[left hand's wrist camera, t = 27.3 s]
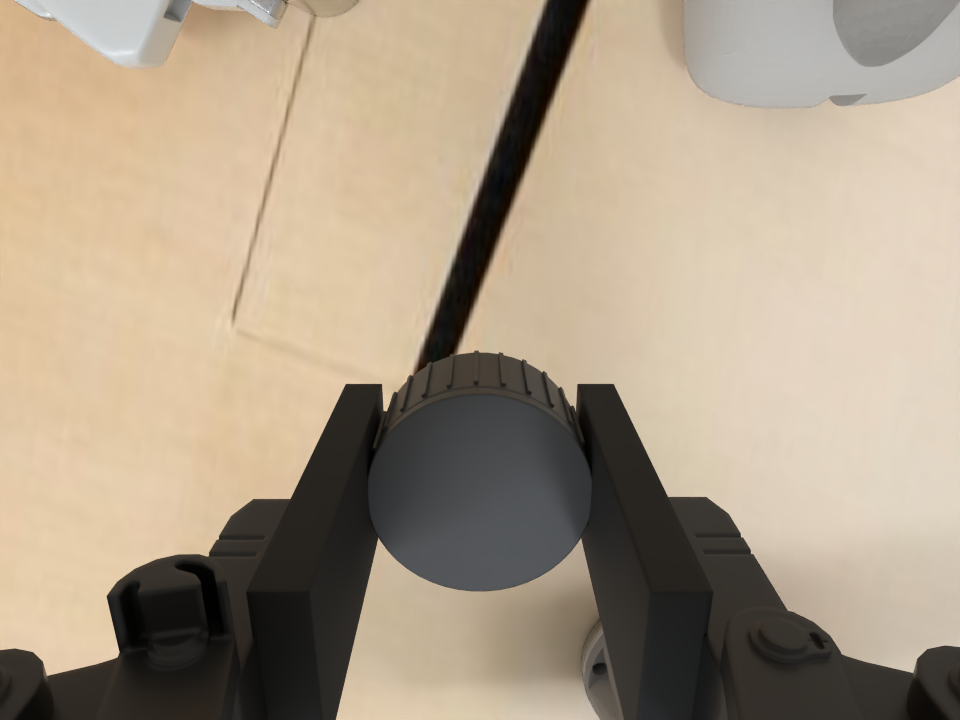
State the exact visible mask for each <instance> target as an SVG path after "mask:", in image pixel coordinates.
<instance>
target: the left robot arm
mask: <svg viewBox="0 0 960 720" xmlns="http://www.w3.org/2000/svg"><path fill="white" fill-rule="evenodd" d="M382 415H383V394H382V384H346V385H345V387H344V389H343V391H342V393H341V395H340V398H339V400H338V402H337V404H336V406H335V408H334V410H333V412H332V414H331V416H330V418H329V420H328V422H327V425H326V427H325V429H324V431H323V433H322V435H321V437H320V439H319V441H318V443H317V445H316V447H315V449H314V452H313V454H312V456H311V458H310V460H309V462H308V464H307V466H306V468H305V470H304V472H303V474H302V476H301V479H300V481H299V483H298V485H297V487H296V489H295V491H294V493H293V495H292V497H291V499H253V500H252V501H251V502H249V503H248V504H247V505H245V506H244V507H243V508H241V509H240V510H239V511H237V512H236V513H235V514H233V515H232V516H231V517H230V519H229V521H228V522H227V524H226V526H225V527H224V529H223V530H222V532H221V534H220V535H219V540H216V542H215V544H214V545H213V547H212V549H211V550H210V552H209V557H206V556H203V555H199V554H187V555H174V556H170V557H166V558H161V559H157V560H154V561H152V562H150V563H147V564H145V565H143V566H140V567H138V568H136V569H134V570H133V571H131V572H130V573H129V574H127V575H126V576H125V577H123V578H122V579H120V580H119V581H118V582H117V583H116V584H115V586H114V587H113V588H112V590H111V591H110V592H109V594H108V595H107V600H108V604H109V609H110V613H111V617H112V621H113V626H114V630H115V634H116V639H117V643H118V647H119V651H120V653H119V656H118V658H115V659H112V660H109V661H106V662H103V663H99V664H96V665H92V666H88V667H84V668H79V669H75V670H71V671H66V672H62V673H58V674H54V675H49V676H47V675H46V671H45V668H44V664H43V661H42V660H41V659H39V658H38V657H37V656H36V655H35V654H34V653H33V652H29V651H24V650H19V649H7V650H0V720H336V716H337V712H338V708H339V703H340V699H341V695H342V690H343V686H344V682H345V678H346V673H347V669H348V665H349V661H350V656H351V652H352V648H353V644H354V639H355V635H356V631H357V627H358V622H359V618H360V614H361V609H362V605H363V601H364V597H365V592H366V588H367V584H368V580H369V575H370V571H371V567H372V563H373V558H374V554H375V550H376V546H377V541H378V535H377V533H376V532H375V530H374V528H373V525H372V522H371V520H370V513H369V499H368V482H367V476H368V472H369V468H370V464H371V460H372V458H373V454H374V451H371V450H372V446H373V443H374V440H375V437H376V434H377V431H378V427H379V424H380V421H381V418H382ZM576 415H577V418H578V421H579V424H580V427H581V430H582V434H583V437H584V440H585V443H586V445H584V449H585V452H586V455H587V459H588V462H589V465H590V469H591V473H592V491H591V506H590V518H589V521H588V524H587V526H586V529H585V531H584V533H583V535H582V536H581V539H582V543H583V547H584V552H585V556H586V560H587V564H588V569H589V573H590V577H591V582H592V586H593V590H594V594H595V599H596V603H597V607H598V611H599V616H600V620H599V621H598V622H597V624H596V625H595V626H594V627H593V629H592V630H591V632H590V634H589V636H588V637H587V640H586V642H585V645H584V648H583V652H582V659H581V666H582V674H583V680H584V685H585V690H586V694H587V696H588V699H589V701H590V703H591V705H592V707H593V709H594V710H595V712H596V714H597V715H598V717H599V718H600V720H960V647H953V646H941V647H936V648H931V649H927V650H926V651H925V652H924V653H923V654H922V655H921V656H920V657H919V658H918V659H917V662H916V666H915V669H914V673H910V672H906V671H901V670H897V669H893V668H888V667H884V666H880V665H876V664H871V663H867V662H863V661H860V660H857V659H853V658H850V657H847V656H844V655H842V654H841V652H840V650H839V649H838V647H837V646H836V644H835V642H834V641H833V639H832V638H831V636H830V635H828V634H827V633H826V632H825V631H824V630H822V629H821V628H820V627H819V626H818V625H816V624H815V623H814V622H812V621H810V620H808V619H806V618H804V617H802V616H800V615H798V614H796V613H794V612H790V611H788V610H787V609H786V607H785V606H784V604H783V602H782V601H781V599H780V597H779V596H778V594H777V592H776V591H775V589H774V587H773V586H772V584H771V583H770V581H769V579H768V578H767V576H766V574H765V573H764V571H763V569H762V568H761V566H760V565H759V563H758V561H757V560H756V558H755V556H754V555H753V554H751V550H750V548H749V547H748V545H747V543H746V542H745V540H744V538H741V533H740V532H739V530H738V528H737V527H736V525H735V524H734V522H733V520H732V519H731V517H730V515H729V514H728V513H727V512H725V511H724V510H723V509H721V508H720V507H719V506H717V505H716V504H715V503H713V502H712V501H711V500H709V499H708V498H707V497H668V496H667V494H666V492H665V490H664V488H663V486H662V484H661V482H660V480H659V477H658V475H657V473H656V471H655V469H654V467H653V465H652V463H651V461H650V459H649V457H648V455H647V453H646V450H645V448H644V446H643V444H642V442H641V440H640V438H639V436H638V434H637V432H636V430H635V428H634V426H633V423H632V421H631V419H630V417H629V415H628V413H627V411H626V409H625V407H624V405H623V403H622V401H621V398H620V396H619V394H618V392H617V390H616V388H615V386H614V384H578V386H577V405H576Z"/></svg>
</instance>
